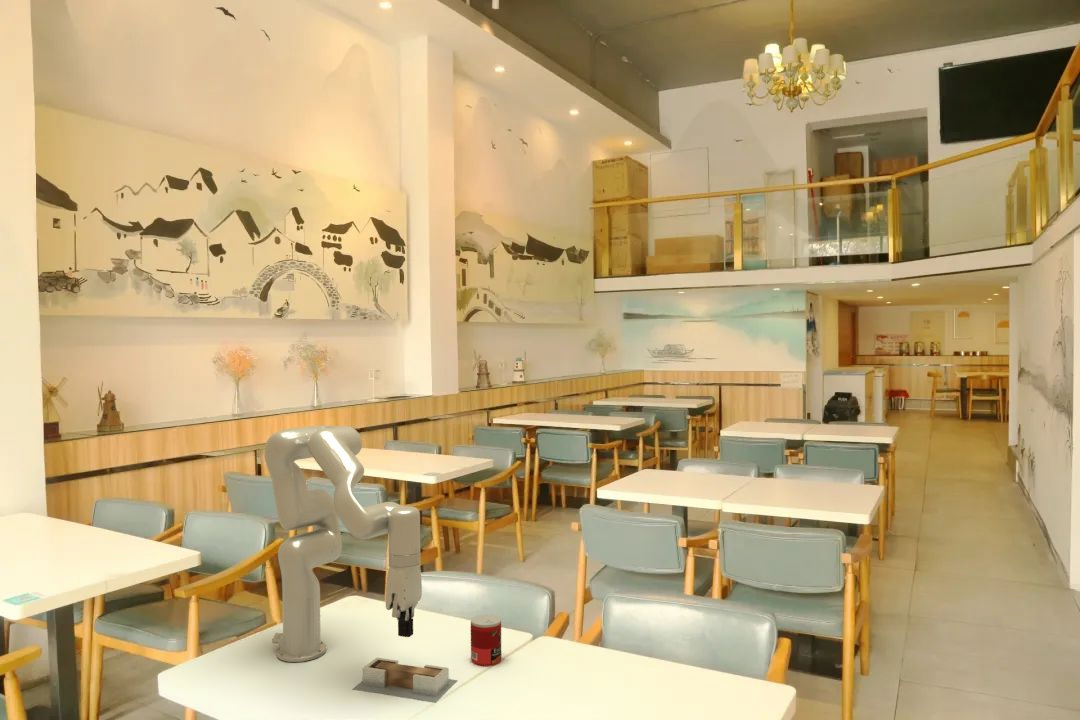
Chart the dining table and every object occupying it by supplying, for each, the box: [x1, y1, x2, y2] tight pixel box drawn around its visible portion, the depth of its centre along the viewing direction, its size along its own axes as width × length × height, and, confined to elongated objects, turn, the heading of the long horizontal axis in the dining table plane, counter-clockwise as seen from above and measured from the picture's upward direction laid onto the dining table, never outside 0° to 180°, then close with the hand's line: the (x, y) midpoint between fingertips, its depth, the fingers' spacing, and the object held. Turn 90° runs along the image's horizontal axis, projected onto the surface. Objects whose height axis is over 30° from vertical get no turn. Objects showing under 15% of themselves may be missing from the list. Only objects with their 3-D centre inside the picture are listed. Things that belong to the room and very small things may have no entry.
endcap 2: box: [413, 664, 450, 697], centre depth 176 cm, size 6×7×4 cm
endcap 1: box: [361, 657, 399, 688], centre depth 180 cm, size 6×7×4 cm
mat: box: [352, 678, 458, 704], centre depth 178 cm, size 22×12×1 cm, turn 71°
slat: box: [375, 662, 441, 689], centre depth 178 cm, size 16×3×4 cm, turn 71°
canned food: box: [470, 614, 502, 667], centre depth 192 cm, size 8×8×11 cm
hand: (405, 635), depth 178 cm, fingers closed
